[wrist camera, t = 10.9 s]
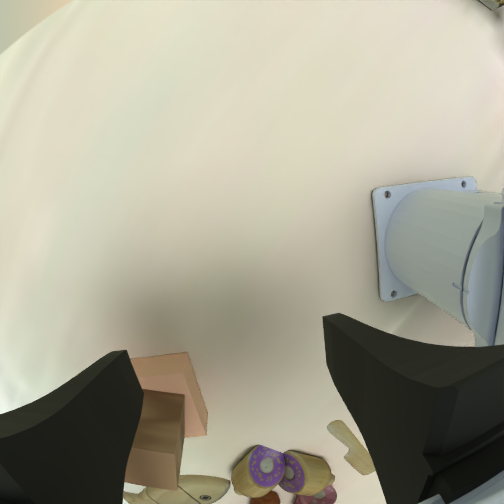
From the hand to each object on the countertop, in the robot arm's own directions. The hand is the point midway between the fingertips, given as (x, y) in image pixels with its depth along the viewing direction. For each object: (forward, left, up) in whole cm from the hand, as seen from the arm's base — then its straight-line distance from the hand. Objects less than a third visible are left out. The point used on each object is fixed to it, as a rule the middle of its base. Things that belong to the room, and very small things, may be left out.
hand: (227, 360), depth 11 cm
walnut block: (+7, +8, -7) cm, 13 cm away
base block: (+7, +8, -10) cm, 15 cm away
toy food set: (+3, +25, -11) cm, 28 cm away
